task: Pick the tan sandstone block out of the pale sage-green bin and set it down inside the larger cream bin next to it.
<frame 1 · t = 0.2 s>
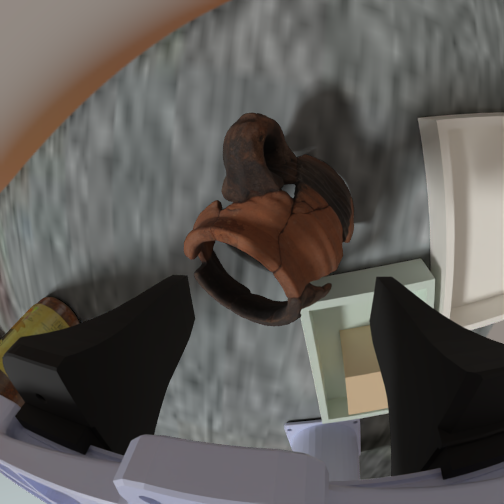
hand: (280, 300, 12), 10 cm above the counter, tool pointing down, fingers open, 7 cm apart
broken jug: (275, 203, 21), on the counter
sauce bottle: (62, 318, 29), on the counter
sandstone block: (368, 346, 24), point 1 cm above the counter, touching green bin
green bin: (367, 341, 24), on the counter
cream bin: (496, 215, 18), on the counter
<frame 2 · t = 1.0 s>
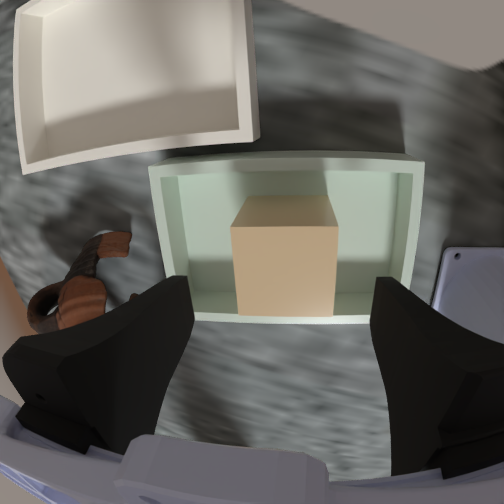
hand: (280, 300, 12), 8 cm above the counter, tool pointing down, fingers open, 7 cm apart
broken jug: (120, 289, 23), on the counter
sandstone block: (288, 232, 18), point 1 cm above the counter, touching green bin
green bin: (289, 229, 19), on the counter
cream bin: (128, 55, 15), on the counter
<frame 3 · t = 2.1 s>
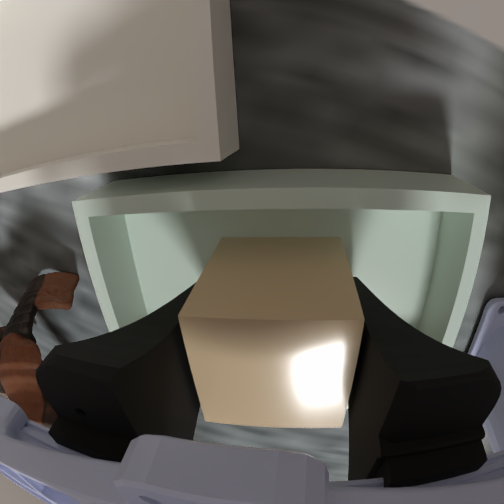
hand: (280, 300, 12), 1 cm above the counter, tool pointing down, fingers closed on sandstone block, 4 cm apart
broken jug: (75, 336, 17), on the counter
sandstone block: (282, 288, 13), point 1 cm above the counter, touching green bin, gripper
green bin: (282, 281, 13), on the counter
cream bin: (63, 42, 10), on the counter
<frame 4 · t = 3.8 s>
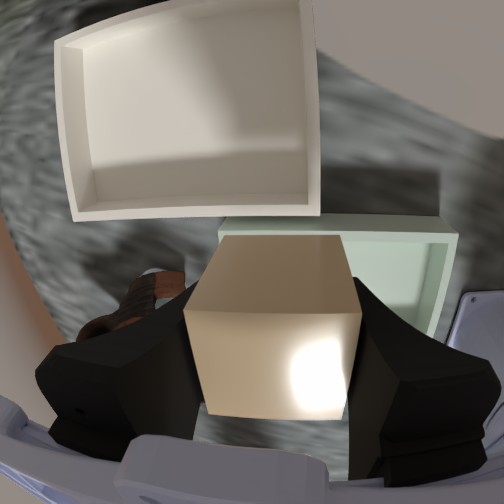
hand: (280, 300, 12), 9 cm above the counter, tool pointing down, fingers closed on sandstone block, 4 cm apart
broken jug: (167, 320, 25), on the counter
sandstone block: (282, 285, 13), point 7 cm above the counter, touching gripper
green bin: (335, 280, 21), on the counter
cream bin: (185, 106, 17), on the counter
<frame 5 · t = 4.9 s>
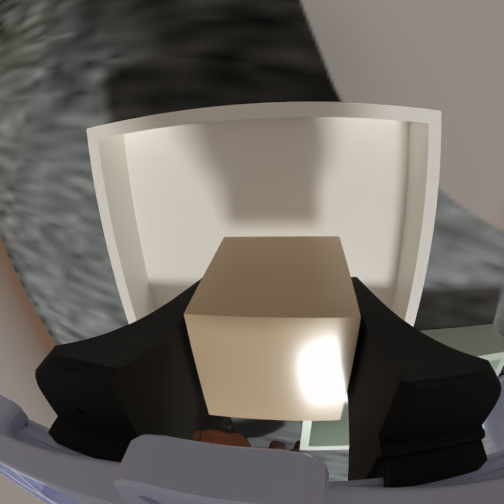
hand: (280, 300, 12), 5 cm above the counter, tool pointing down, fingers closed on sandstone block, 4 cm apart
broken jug: (227, 408, 24), on the counter
sandstone block: (282, 286, 13), point 4 cm above the counter, touching gripper
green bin: (396, 380, 20), on the counter
cream bin: (266, 226, 16), on the counter
when the fingers open (3 cm above the counter, at t = 5.7 s): sandstone block drops 2 cm, resting on cream bin.
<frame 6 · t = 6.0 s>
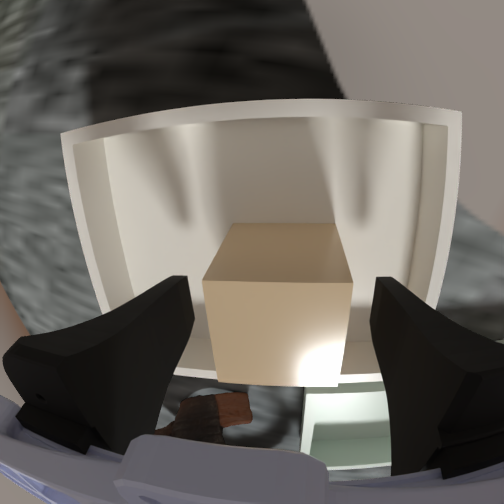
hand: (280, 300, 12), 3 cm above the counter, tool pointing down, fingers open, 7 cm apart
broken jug: (222, 424, 22), on the counter
sandstone block: (284, 269, 14), point 1 cm above the counter, touching cream bin
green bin: (401, 398, 18), on the counter
cream bin: (262, 240, 15), on the counter
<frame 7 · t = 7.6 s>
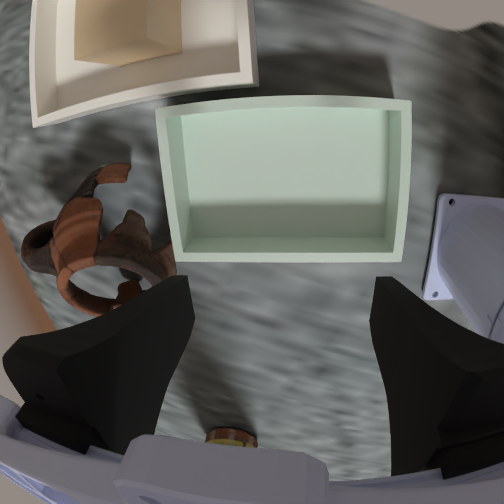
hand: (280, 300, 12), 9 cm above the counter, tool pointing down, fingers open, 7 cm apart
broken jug: (117, 227, 23), on the counter
sauce bottle: (234, 438, 32), on the counter
sandstone block: (148, 29, 15), point 1 cm above the counter, touching cream bin
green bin: (287, 172, 19), on the counter
cream bin: (138, 19, 16), on the counter
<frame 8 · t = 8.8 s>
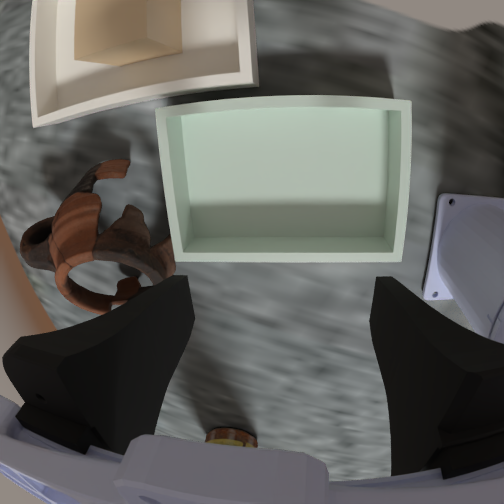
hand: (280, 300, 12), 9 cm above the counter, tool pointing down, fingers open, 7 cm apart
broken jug: (116, 223, 23), on the counter
sauce bottle: (234, 438, 32), on the counter
sandstone block: (148, 29, 15), point 1 cm above the counter, touching cream bin
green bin: (287, 172, 19), on the counter
cream bin: (138, 19, 16), on the counter
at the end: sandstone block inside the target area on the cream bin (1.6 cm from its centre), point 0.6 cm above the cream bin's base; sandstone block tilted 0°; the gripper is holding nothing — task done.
